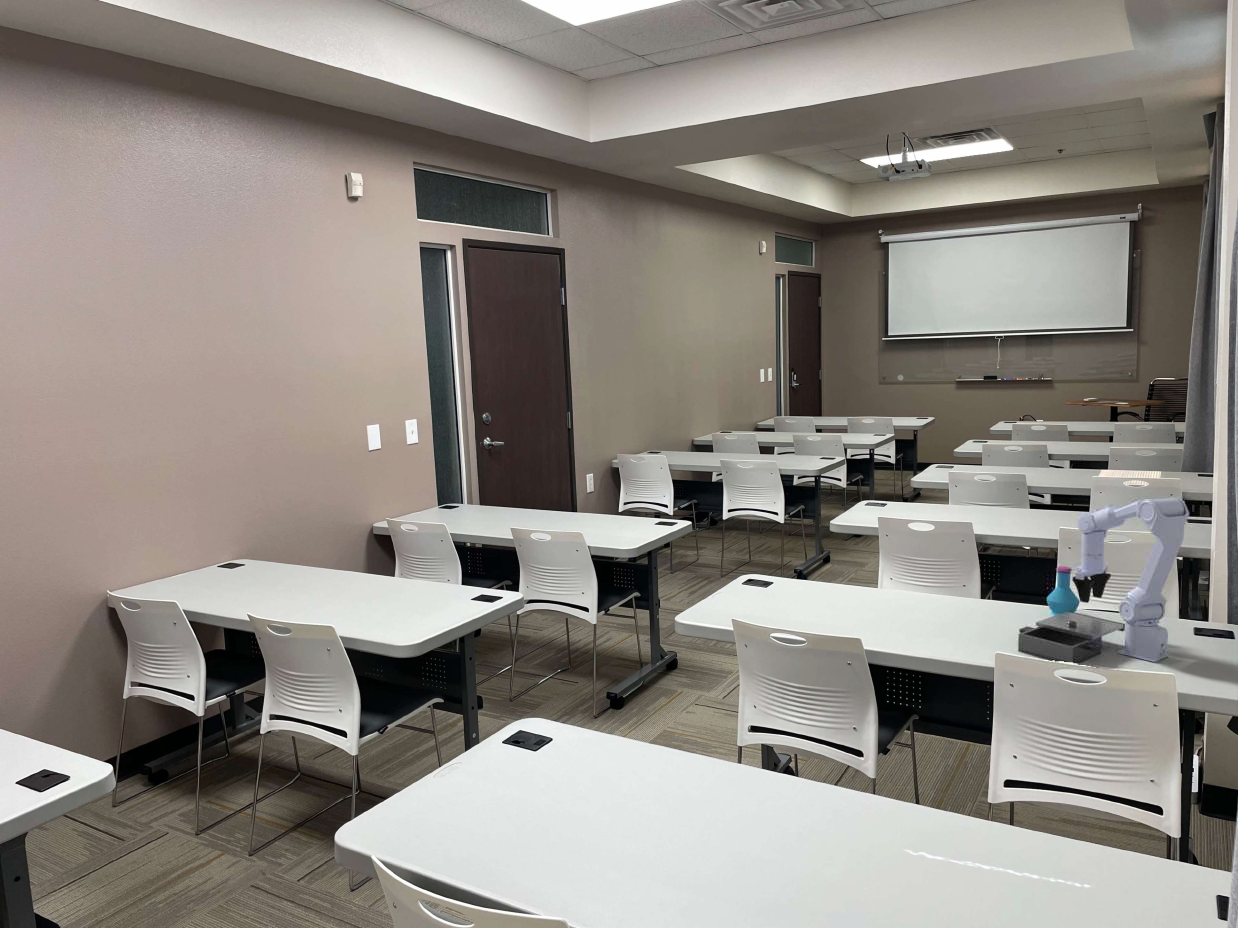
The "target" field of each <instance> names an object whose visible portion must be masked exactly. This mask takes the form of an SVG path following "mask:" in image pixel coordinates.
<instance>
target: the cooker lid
mask: <svg viewBox="0 0 1238 928" xmlns="http://www.w3.org/2000/svg"><path fill="white" fill-rule="evenodd" d="M1035 626H1036V627H1043V628H1047V629H1051V630H1056V631H1060V632H1064V633H1068V634H1072V635H1076V636H1080V637H1084V638H1088V639H1092V640H1094V639H1096V638H1099V637H1102V638H1103V636H1106V635H1109V634H1111V633H1114V632H1116V631H1118V632H1125V628H1126V623H1123V622H1120V621H1119V622H1117V621H1113V620H1110V619H1105V618H1100V617H1097V616H1091V615H1087V614H1082V613H1078V612H1069V611H1067V612H1064V613H1061V614H1058V615H1055V616H1054V615H1052V616H1051V617H1047V618H1044V619H1041V620H1038V621H1036V622H1035Z"/></svg>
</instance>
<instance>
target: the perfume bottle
mask: <svg viewBox="0 0 1238 928" xmlns="http://www.w3.org/2000/svg"><path fill="white" fill-rule="evenodd" d="M1055 570H1056V573H1057V580H1056V581H1057V583H1056V587H1055V588H1054V590H1052V592H1051V593H1049V595H1048V596H1047V597H1046V602H1047V605H1048V608H1049V610H1051V611H1050V614H1051V615H1052V616H1055V615H1058V614H1061V613H1064V612H1067V611H1069V612H1074V613H1077V609H1078V608H1079V606H1080V599H1079V597H1077V595H1076V594H1075V592H1074V591H1073V590H1072V589H1071V587H1070V586H1071V574H1072V572H1073V570H1072V568H1071V567H1069V566H1064V565H1063V566H1057V567H1056V568H1055Z"/></svg>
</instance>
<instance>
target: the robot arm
mask: <svg viewBox="0 0 1238 928" xmlns="http://www.w3.org/2000/svg"><path fill="white" fill-rule="evenodd" d="M1189 516H1190V511H1189V509H1188V507H1187V505H1186V503H1185V501H1184V500H1183V499H1182V498H1180V497H1170V498H1155V499H1150V498H1147V499H1143V500H1137V501H1134V502H1133V503H1129V504H1128V505H1124V506H1122V507H1119V506H1117V505H1113V504H1107V505H1105V508H1102V509H1097V508H1096V509H1094V510H1093V512H1088V513H1087V512H1082V513H1081V514H1080V515H1078V517H1077V521H1076V523H1077V528H1078V529H1079V531H1080V532H1081V548H1080V549H1081V551H1080V553H1081V554H1080V565H1078V566H1076V569H1077V571H1076V572H1075V576H1072V579H1071V580H1072V582H1073V583H1074V586H1075V587H1076V590H1077V594H1078V599H1079V601H1080V602H1081V603H1087V604H1088V603H1089V602H1090V598H1091V592H1092V597H1093V598H1098V599H1101V598H1102V597H1103V596H1104V595H1103V594H1104V592H1105V588H1106V585H1107V584H1108V581H1109V580H1110V579H1111V576H1112V574H1111V573H1107V572H1108V565H1107V564H1104V558H1105V557H1104V555H1105V554H1104V552H1105V539H1106V537H1107V532H1108V530H1110V529H1113V528H1117V527H1120V526H1122V525H1124V524H1125V523H1126V521H1127V519H1132V518H1136V517H1137V518H1140V519H1141V521H1142V522H1143V523H1144V525H1145V526H1146V528H1147V529H1148V530H1149V532H1150V533H1151V534H1152V535H1153V536H1155V537H1156V539H1155V542H1154V543H1153V547H1152V550H1151V552H1150V554H1149V557H1148V559H1147V562H1146V563H1145V566H1144V569H1143V571H1142V574H1141V577H1140V578H1139V581H1138V584H1137V586H1136V587H1135V588H1133V589H1132V590H1130V591H1129V592H1127V593H1126V595H1125V598H1123V599H1122V600H1121V601H1120V602H1119V605H1118V612H1119V616H1120V617H1121V618H1122V620H1123V622H1124V623H1125V631H1124V633H1125V634H1124V648H1122V649H1120V650H1117V653H1118V654H1120V655H1124V656H1128V657H1132V658H1137V659H1140V660H1145V661H1148V662H1152V663H1156V662H1158V661H1160V660H1162V659H1164V658H1167V657H1168V656H1169V654H1168V641H1169V639H1168V638H1169V633H1168V632H1169V631H1168V629H1167V628H1166V627H1164V626H1160V625H1159V624H1160V620H1162V619H1163V618H1164V617H1165V613H1166V604H1167V599H1166V597H1165V596H1164V594H1162V592H1163V589H1164V586H1165V584H1166V582H1167V580H1168V577H1169V575H1170V572H1171V570H1172V568H1173V565H1174V563H1175V561H1176V558H1177V557H1178V556H1177V555H1178V553H1179V551H1180V548H1181V546H1182V543H1183V541H1184V535H1185V525H1186V523H1187V520H1188V518H1189ZM1080 602H1079V603H1080Z"/></svg>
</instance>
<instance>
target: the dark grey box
mask: <svg viewBox="0 0 1238 928" xmlns="http://www.w3.org/2000/svg"><path fill="white" fill-rule="evenodd" d="M1102 641H1103V636H1102V637H1099V638H1096V639H1094V640H1092V639H1088V638H1084V637H1080V636H1076V635H1072V634H1068V633H1064V632H1060V631H1056V630H1051V629H1047V628H1043V627H1039V626H1036V627H1032V626H1024V627H1022V628H1019V632H1018V640H1017V642H1018V644H1017V652H1019V653H1023V654H1026V655H1030V656H1034V657H1036V658H1037V657H1038V658H1041V659H1045V660H1049V661H1052V660H1055V661H1064V662H1073V663H1078V664H1080V663H1083V662H1085V661H1088V660H1090V659H1093V658H1095V657H1097V656H1099V655H1101V654H1102V650H1103V649H1104V646H1103V644H1102ZM1055 661H1054V662H1055Z"/></svg>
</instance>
